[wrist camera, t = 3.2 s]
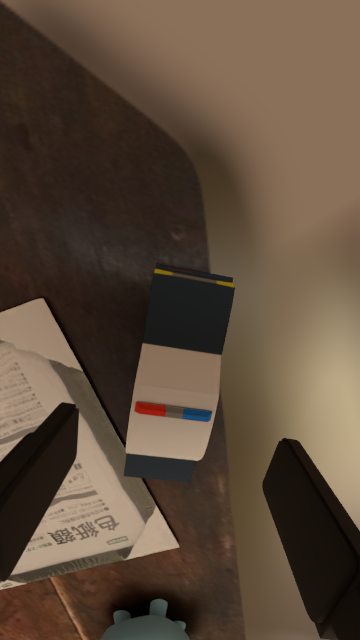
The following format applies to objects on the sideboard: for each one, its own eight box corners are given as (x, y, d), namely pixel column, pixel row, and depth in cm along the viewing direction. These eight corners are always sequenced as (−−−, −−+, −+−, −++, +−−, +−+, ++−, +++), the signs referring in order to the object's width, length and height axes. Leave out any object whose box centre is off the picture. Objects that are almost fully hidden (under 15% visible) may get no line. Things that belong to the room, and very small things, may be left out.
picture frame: (41, 294, 14) (179, 549, 21) (44, 293, 14) (179, 544, 21) (-234, 399, 16) (-24, 597, 23) (-225, 396, 17) (-21, 592, 24)
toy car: (225, 277, 14) (254, 279, 9) (185, 451, 18) (191, 518, 13) (158, 264, 14) (150, 259, 9) (131, 445, 17) (115, 512, 12)
